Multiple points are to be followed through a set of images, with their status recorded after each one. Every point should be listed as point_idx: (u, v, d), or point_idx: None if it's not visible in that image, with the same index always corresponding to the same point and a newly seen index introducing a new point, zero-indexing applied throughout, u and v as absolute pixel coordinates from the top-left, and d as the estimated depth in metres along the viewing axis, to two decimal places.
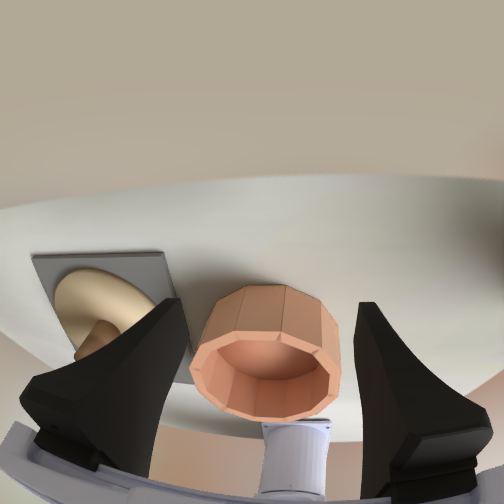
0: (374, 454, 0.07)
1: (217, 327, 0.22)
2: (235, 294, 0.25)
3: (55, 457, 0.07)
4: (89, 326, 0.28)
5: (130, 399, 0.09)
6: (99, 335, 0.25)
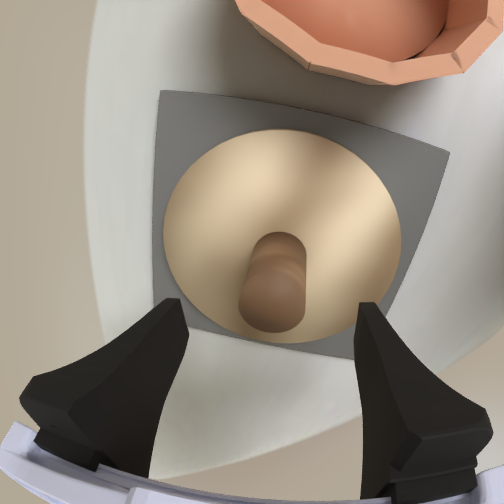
0: (374, 454, 0.07)
1: None
2: None
3: (55, 457, 0.07)
4: None
5: (130, 399, 0.09)
6: (252, 260, 0.15)
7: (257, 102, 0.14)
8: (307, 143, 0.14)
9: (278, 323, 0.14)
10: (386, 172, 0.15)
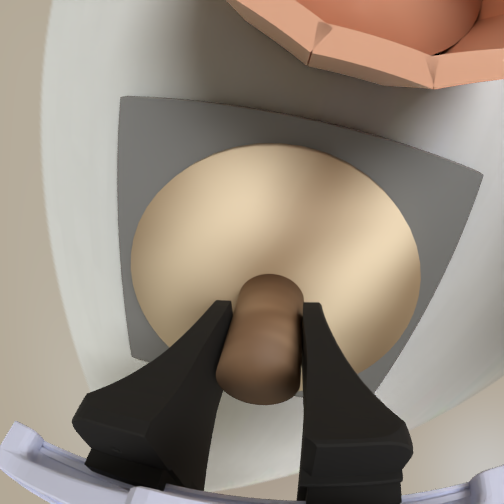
0: (301, 456, 0.08)
1: None
2: None
3: (111, 480, 0.07)
4: None
5: (193, 410, 0.09)
6: (235, 313, 0.12)
7: (241, 109, 0.11)
8: (306, 163, 0.11)
9: (266, 396, 0.10)
10: (406, 199, 0.12)
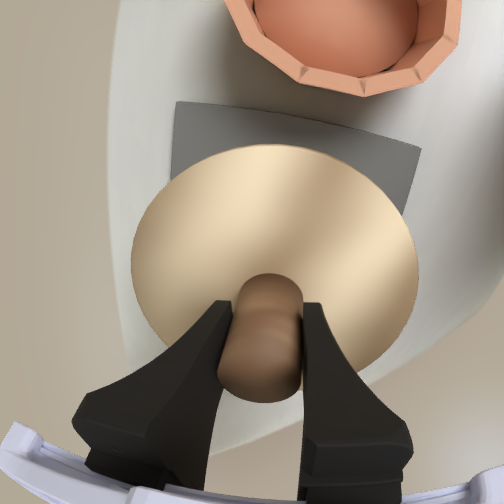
0: (302, 456, 0.08)
1: None
2: None
3: (110, 479, 0.07)
4: None
5: (193, 410, 0.09)
6: (235, 313, 0.12)
7: (257, 111, 0.17)
8: (306, 164, 0.11)
9: (268, 394, 0.11)
10: (366, 166, 0.18)
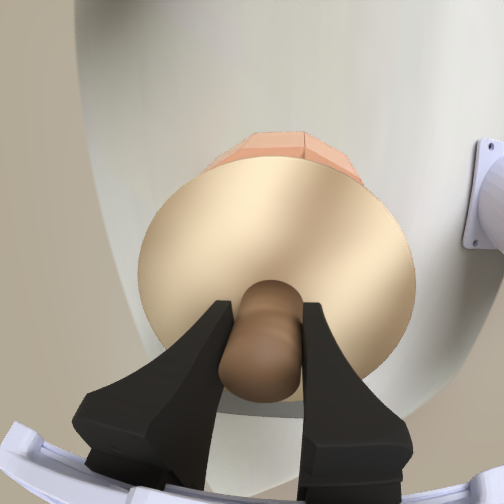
0: (301, 456, 0.08)
1: None
2: None
3: (111, 480, 0.07)
4: None
5: (193, 410, 0.09)
6: (238, 315, 0.12)
7: None
8: (307, 173, 0.12)
9: (267, 393, 0.11)
10: None
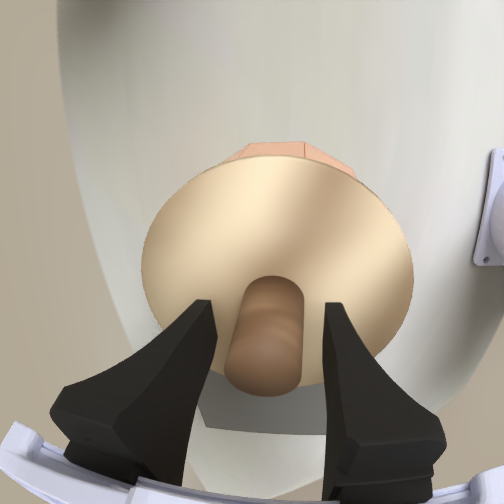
0: (330, 456, 0.08)
1: None
2: None
3: (87, 471, 0.07)
4: None
5: (168, 406, 0.09)
6: (241, 312, 0.13)
7: None
8: (307, 174, 0.12)
9: (270, 388, 0.11)
10: None
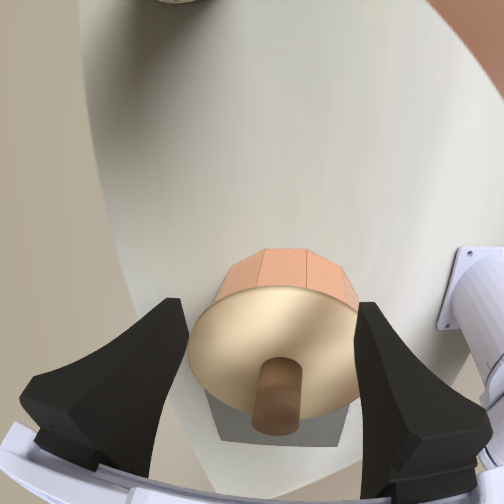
0: (374, 454, 0.07)
1: None
2: None
3: (55, 457, 0.07)
4: None
5: (130, 399, 0.09)
6: (260, 384, 0.19)
7: None
8: (307, 303, 0.18)
9: (279, 431, 0.17)
10: None
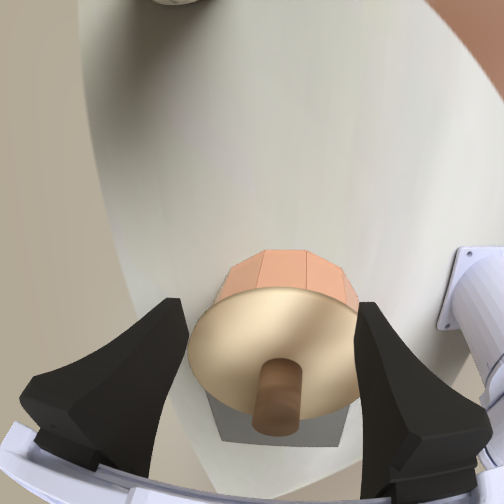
0: (374, 454, 0.07)
1: None
2: None
3: (55, 457, 0.07)
4: None
5: (130, 399, 0.09)
6: (261, 385, 0.19)
7: None
8: (307, 304, 0.18)
9: (279, 432, 0.17)
10: None
